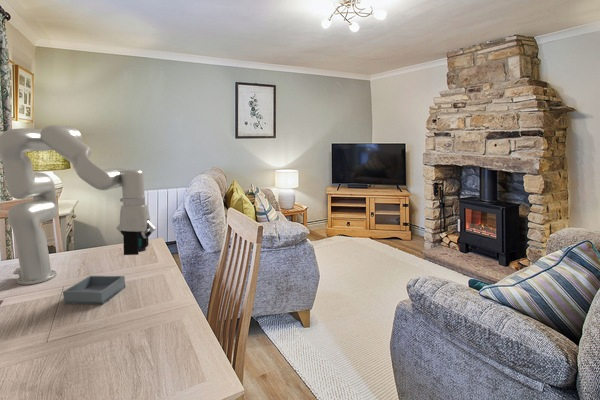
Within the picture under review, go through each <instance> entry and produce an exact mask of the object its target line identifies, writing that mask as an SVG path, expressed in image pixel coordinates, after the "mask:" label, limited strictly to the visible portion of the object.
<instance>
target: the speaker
mask: <svg viewBox="0 0 600 400" xmlns="http://www.w3.org/2000/svg"><path fill="white" fill-rule="evenodd" d="M122 236H123V237H122V240H123V244H122V245H123V256H138V255H139V253H141V252H142V253H144V252H146V251H147V249H146V248H147V247H146V248H142V238H143V236H142V234H141V232H127V231H123V235H122Z"/></svg>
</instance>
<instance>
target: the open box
mask: <svg viewBox="0 0 600 400" xmlns="http://www.w3.org/2000/svg"><path fill="white" fill-rule="evenodd" d="M126 287H127V286H126V277H125V276H124V275H89V276H87V277H85V278H83V279H82V280H80V281H78V282H77V283H74V284H73V285H72V286H70V287H69V288H66V289H65V290H63V291H62V294H63V301H64V305H95V306H98V305H99V306H100V305H101V306H102V305H104V304H106V303H107V302H109V301H110V300H111V299H113V297H115V296H117V295H118V294H119V293H120V292H122V290H124V289H125V288H126Z"/></svg>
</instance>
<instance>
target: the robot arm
mask: <svg viewBox="0 0 600 400" xmlns="http://www.w3.org/2000/svg"><path fill="white" fill-rule="evenodd" d="M44 151H45V152H47V151H54V152H56V153H57V154H58V155H60V156H61V157H62V158H64V159H65V160H67V161H68V162H70V163H71V164H72V167H73V169H74V171H75V173H76V175H77V176H78V177H79V178H80V179H81V180H82V181H83V182H85V183H86V184H88V185H89V186H91V187H93V188H94V189H96V190H99V191H108V190H113V189H118V188H121V193H122V198H120V199H119V201H120V203H121V202H122V205H121V206H120V212H119V224H118V225H117V227H116V230H117V231H118V232H120V234H121V235H122V236H123V231H127V232H141V234H142V236H143V238H142V248H147V247H148V246H149V237H150V236H151V235H152V233H154V232H155V231H156V230H157V228H156V227H155V226H154V225H153V224H152V223H151V216H150V212H149V208H148V205H147V204H146V199H145V195H146V194H145V183H144V182H145V181H144V171H142V170H141V169H137V168H130V169H127V168H120V167H113V168H111V167H110V168H104V169H103V168H101V167H99V165H96V164H95V163H93V162H92V161H91V160H90V159H89V158H90V157H91V154H92V149H91V147H90V146H88V145H87V143H84V142H83V134H82V133H81V132H80V131H79V129H77V128H76V127H74V126H71V125H60V124H59V125H57V124H56V125H55V124H54V125H48V126H46V127H44V128H42V129H40V128H35V129H34V128H12V129H7V130H5V131H4V132H2V133H1V134H0V159H1V162H2V165H3V172H4V178H5V182H6V187H7V191H8V193H9V195H10V197H12V198H13V199H16V200H25V199H31V198H33V200H28V201H24V202H19V203H16V204H14V205H13V206H11V207H10V208H9V210H8V211H7V219H8V222H9V224H10V226H11V229H12V232H13V235H14V240H15V246H16V250H17V257H18V263H19V267H16V269H15V270H14V271H13V275H18V278H17V279H16V282H17V284H18V285H34V284H39V283H43V282H46V281H49V280H52V279H53V278H55V277H56V276H57V271H56V270H54V269H52V267H51V261H50V253H49V248H48V241H47V235H46V232H45V230H44V228H43V227H41V225H40V224H41V223H45V222H48V221H51V220H53V219H55V218H56V217H57V216H58V214H59V203H58V198H57V196H58V195H57V192H56V185H55V182H54V181H53V179H52V178H51V176H50V175H48V174H47V173H45V172H41V171H40V172H39V171H38V172H34V167H33V163H32V161H31V159H30V158H29V156H28V155H27V154H26V153H27V152H44Z"/></svg>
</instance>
